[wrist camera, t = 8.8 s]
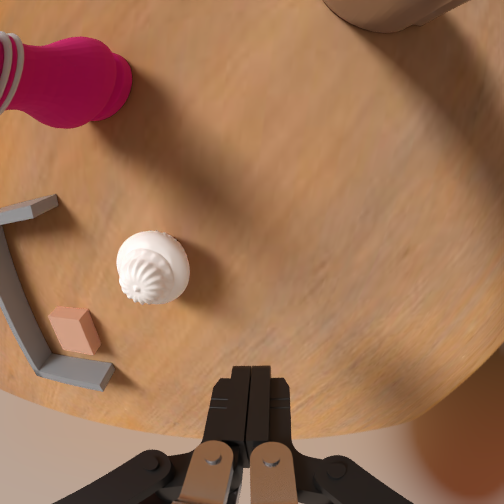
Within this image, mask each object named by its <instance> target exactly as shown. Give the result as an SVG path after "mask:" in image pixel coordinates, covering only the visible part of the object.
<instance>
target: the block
mask: <svg viewBox="0 0 504 504" xmlns="http://www.w3.org/2000/svg"><path fill="white" fill-rule="evenodd" d="M48 317H49V320H50V322H51V324H52V327H53V329H54V331H55V334H56V336H57V338H58V340H59V342H60V344H61V346H62V349H63V350H68V351H73V352H78V353H83V354H89V355H94V354H95V353H96V351H97V350H98V348H99V347H100V345H101V341H100V339H99V336H98V334H97V331H96V329H95V326H94V323H93V321H92V318H91V315H90V312H89V310H88V309H82V308H71V307H61V306H57V307H56V308H55V309H54V310H53V311H52V312H51V313H50V314H49V315H48Z"/></svg>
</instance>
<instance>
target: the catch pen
mask: <svg viewBox="0 0 504 504" xmlns="http://www.w3.org/2000/svg"><path fill="white" fill-rule="evenodd" d="M57 206H58V201H57V196H56V194H54V195H50V196H45V197H41V198H37V199H33V200H29V201H25V202H21V203H17V204H14V205H10V206H6V207H3V208H0V307H1V309H2V311H3V313H4V316H5V318H6V320H7V322H8V324H9V326H10V328H11V330H12V332H13V334H14V336H15V338H16V340H17V342H18V344H19V346H20V347H21V349H22V351H23V353H24V355H25V356H26V358H27V360H28V362H29V363H30V365H31V367H32V368H33V370H34V372H35V373H36V375H37V376H40V377H43V378H47V379H50V380H54V381H58V382H62V383H66V384H70V385H74V386H78V387H83V388H87V389H92V390H97V391H102V392H103V391H104V389H105V388H106V386H107V384H108V382H109V380H110V378H111V376H112V375H113V373H114V371H115V369H114V366H113V364H112V363H108V362H100V361H94V360H87V359H81V358H75V357H69V356H64V355H58V354H53V353H52V352H51V350H50V349H49V347H48V345H47V343H46V341H45V339H44V337H43V335H42V333H41V331H40V329H39V326H38V324H37V322H36V320H35V318H34V316H33V313H32V311H31V309H30V306H29V304H28V302H27V299H26V297H25V294H24V292H23V289H22V287H21V284H20V281H19V279H18V276H17V273H16V270H15V267H14V264H13V261H12V258H11V255H10V252H9V249H8V245H7V242H6V238H5V235H4V231H3V227H2V225H3V224H7V223H12V222H17V221H22V220H27V219H32V218H35V217H37V216H39V215H41V214H43V213H45V212H47V211H49V210H51V209H53V208H55V207H57Z"/></svg>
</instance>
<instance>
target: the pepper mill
mask: <svg viewBox="0 0 504 504" xmlns="http://www.w3.org/2000/svg"><path fill="white" fill-rule="evenodd" d="M131 85H132V73H131V69H130V66H129V64H128V62H127V61H126V60H125V59H124V58H123V57H122V56H120V55H118V54H115V53H112V52H111V50H110V49H109V48H108V47H107V46H106V45H105V44H104V43H102V42H101V41H99V40H96V39H92V38H88V37H71V38H67V39H63V40H60V41H57V42H54V43H51V44H49V45H45V46H32V45H26V44H22V41H21V39H20V38H19V37H18V36H17V35H16V34H13V33H7V34H6V33H4V32H2V31H0V115H1V114H2V113H3V112H4V111H5V110H20V111H24V112H25V113H27V114H29V115H30V116H32V117H33V118H35V119H36V120H38V121H39V122H41V123H43V124H45V125H48V126H51V127H55V128H66V129H68V128H75V127H79V126H82V125H84V124H86V123H88V122H89V121H100V120H104V119H106V118H109V117H111V116H112V115H114V114H115V113H116V112H117V111H118V110H119V109H120V108H121V107H122V106H123V104H124V103H125V101H126V100H127V98H128V96H129V93H130V90H131Z"/></svg>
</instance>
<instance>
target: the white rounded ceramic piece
mask: <svg viewBox="0 0 504 504" xmlns="http://www.w3.org/2000/svg"><path fill="white" fill-rule="evenodd" d="M187 257H188V256H187V255H186V253H185V250H184V248H183V247H182V246H181V244H180V243H179V241H177V240H176V239H174V237H173V236H171V235H169V234H167V233H165V232H164V233H162V232H159V231H157V230H156V231H151V230H150V231H144V232H140V233H137V234H134V235H133V236H131V237H129V238H128V239H127V240H126V241H125V242H124V243H123V244H122V246H121V247H120V249H119V252H118V256H117V270H118V273H119V276H120V279H119V283H120V285H121V287H122V291H123V292H124V293H125V294H127V297H128V298H130V299H133V301H134V302H140V304H142V305H143V304H144V303H145V302H146V303H148V304H164V303H168V302H170V301H173V300H174V299H176V298H178V297H179V296H180V295H181V294H182V293H183V292H184V290H185V289H186V287H187V285H188V282H189V277H190V267H189V261H188V259H187Z"/></svg>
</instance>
